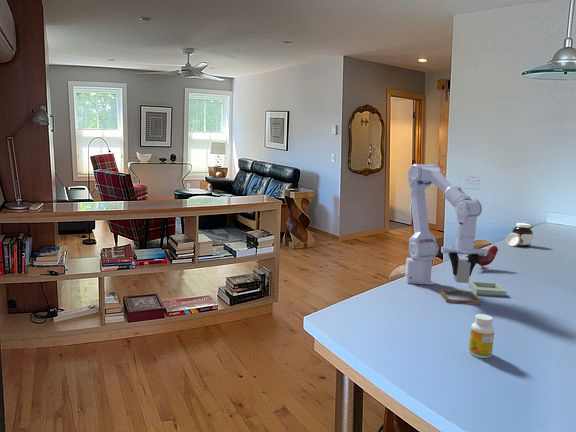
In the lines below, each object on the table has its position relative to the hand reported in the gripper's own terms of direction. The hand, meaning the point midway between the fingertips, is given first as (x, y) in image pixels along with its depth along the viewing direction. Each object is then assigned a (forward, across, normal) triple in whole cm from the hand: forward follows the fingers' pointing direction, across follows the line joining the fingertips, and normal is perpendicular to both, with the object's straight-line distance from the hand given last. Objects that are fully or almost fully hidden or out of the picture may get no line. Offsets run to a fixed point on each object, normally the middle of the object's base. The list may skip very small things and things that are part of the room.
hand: (461, 275), depth 160 cm
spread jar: (+8, +55, +97) cm, 112 cm away
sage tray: (+8, +12, +10) cm, 18 cm away
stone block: (+2, 0, 0) cm, 2 cm away
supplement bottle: (+8, -6, -44) cm, 45 cm away
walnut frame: (+8, 0, 0) cm, 8 cm away
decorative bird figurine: (+8, +19, +41) cm, 46 cm away
